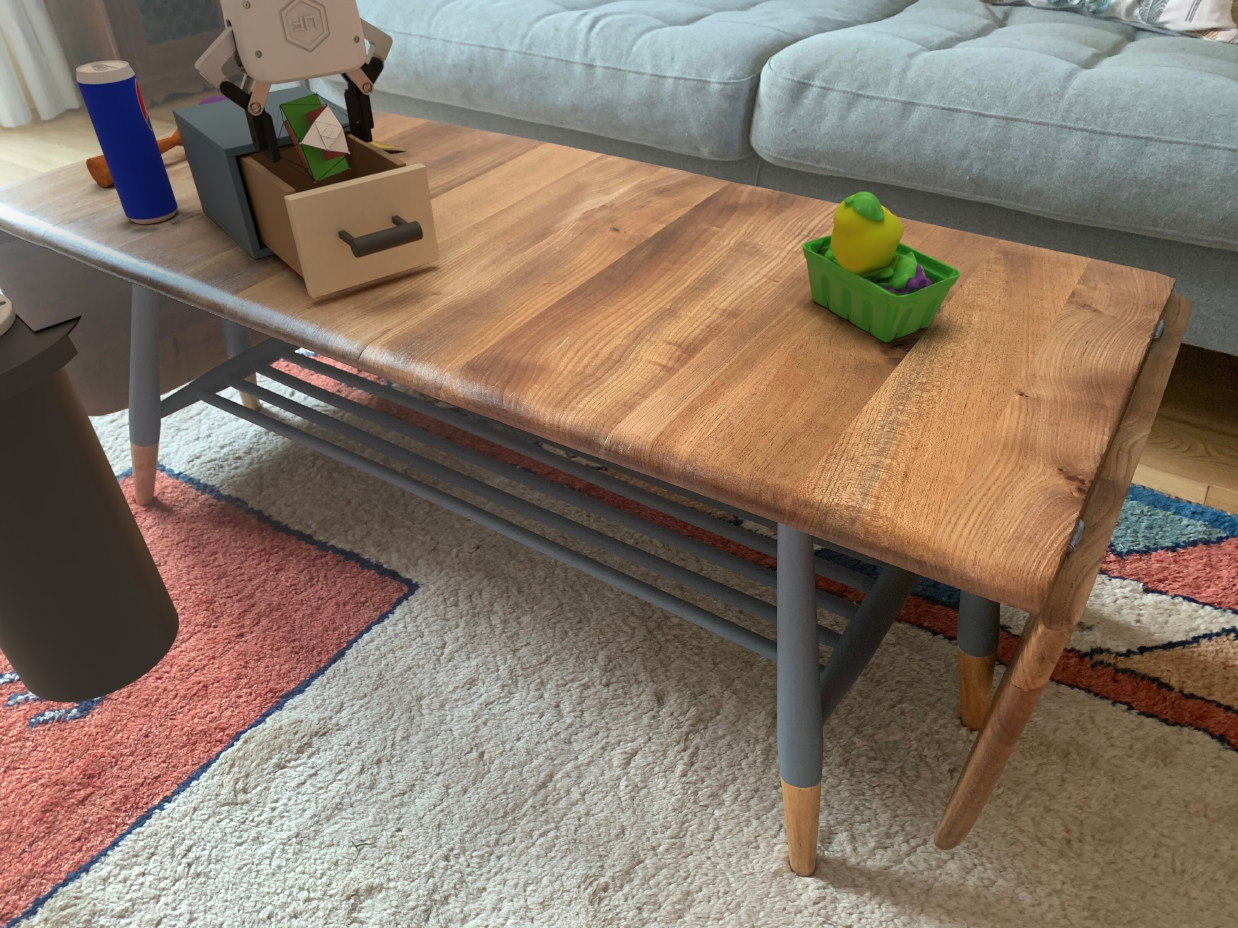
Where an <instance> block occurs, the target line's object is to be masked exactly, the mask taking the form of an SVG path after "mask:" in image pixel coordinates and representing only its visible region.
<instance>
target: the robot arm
mask: <svg viewBox="0 0 1238 928" xmlns="http://www.w3.org/2000/svg"><path fill="white" fill-rule="evenodd" d="M220 4H221V9H222V10H221V11H222V16H223V22H224V27H225V28H224V29H223V30H222V32H221V33H220V34H219V36H217V38H215V40H214V41H213V42H212V43H211V44H210V45H209V46H208V48H206V50H204V52H203V53H202V54H201V55H200V56H199V58H198V59H197V60H196V61H195V62H194V69H195V71H196V72H197V73H198V74H199V75H201V76H202V77H203V78H204V79H205V80H206V81H207V82H208V83H209V84H210V85H211V86H212V87H213V88H215V90H217V92H218V93H219V94H221V95H223V97H225V98H228V99H230V100H231V101H233V102H234V103H236V104H237V105H239V106H240V107H241V108H243V109H244V110H245V114H246V118H247V122H248V126H249V130H250V134H251V138H252V142H253V145H254V148H255V149H256V151H258V152H261V154H262V155H263V156H264V157H266V158H267V159H268V160H270V161H271V162H273V163H275V162H279V161H280V160H281V155H280V151H279V146H278V142H277V137H276V133H275V129H274V124H273V120H272V116H271V115H270V114H269V113H267V112H266V111H265V107H264V106H265V102H266V99H267V96H268V93H269V92H270V90H271V87H272V85H280V84H287V83H294V82H300V81H307V80H312V79H316V78H317V79H318V78H324V77H330V76H335V75H340V77H342V79H343V80H344V81H345V82H346V84H347V88H344V92H343V97H344V102H345V109H346V110H347V114H348V120H349V125H351V124H353V123H356V121H357V122H358V125H357V124H354V125H351V126H350V131H351V134H352V135H353V136H355V135H354V134H356V136H355V137H356V138H358V139H360V140H362V141H363V142H366V143H369V142H372V141H373V140H374V139H373V133H372V130H373V129H374V128H375V121H374V114H373V110H372V109H373V108H372V105H371V104H372V103H371V98H370V95H372V93H373V92H374V91H375V90H374V89H375V86H374V85H375V83H377V82H376V81H377V80H378V79H379V77H380V75H381V74H382V72H383V71H384V68H385V61H386V60H387V59H388V56H389V53H390V51H391V48H392V46H393V43H394V40H393V38H392V36H390V34H388V33H386V32H385V31H383V30H381V29H379V28H378V27H377V26H374V25H373V24H371V23H370V22H368V21H367V20H365V19H363V18H361V17H360V12H359V8H358V4H357V0H220ZM365 40H366V41H368V44H369V48H368V51H367V45H366V41H365ZM230 58H232V62H233V64H234V66H235V68H236V69H237V70H238V71H239V72H241V73H243V74H244V75H243V78H242V81H241V84H240V87H239V86H238V85H236V84H235V83H234V82H233V81H231V80H230V79H229V77H227V76H226V75H225V73H224V72H223V67H224V65H225V64H226V63H227V62H228V61H229V60H230ZM349 116H350V117H351V118H349ZM352 119H354V120H355V121H354V120H352ZM356 126H357V130H356ZM355 130H356V131H355ZM16 314H17V312H16V310H15V307H14V304H13V303H12V301H11V300H10V299H9V298H8V297H7V296H6V295H3V294H2V293H0V336H2V335H3V334H4V333H5V332H6V331H7V330H8V329H9V328H10V327H11V326H12V324H13V322H14V321H15V317H16Z"/></svg>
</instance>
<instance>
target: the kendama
mask: <svg viewBox="0 0 1238 928" xmlns="http://www.w3.org/2000/svg"><path fill="white" fill-rule="evenodd" d="M223 100H229V99H228V98H227V97H225V96H219V95H212V96H209V97H207V98H204V99H202V100H201V101H200V102H199V103H198V104H197V105H202V104H207V103H212V102H218V101H223ZM156 140H157V139H156ZM157 144H158V147H159V150H160V153H161V156H163V155H164V154H165V153H167V152H169V151H170V150H172V149H173V148H175V147H183V144H182V141H181V137H180V134H179V131H178V128H176V130H175V132H173V134H172V135H171V136H169V137H165V138H162V139H158V140H157ZM85 165H86V168H87V171H88V173H89V174H90V176H91V178H92V179H93V180H94V182H95V183H97V184H98V185H99V186H100V187H101V188H107V187H109V186H110V185H112V184H114V182H113V179H112V177H111V174H110V171H109V168H108V166H107V163H106V160H105V157H104V155H103V154H102V155H97V156H94V157H90V158H88V159H86V163H85Z"/></svg>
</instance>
